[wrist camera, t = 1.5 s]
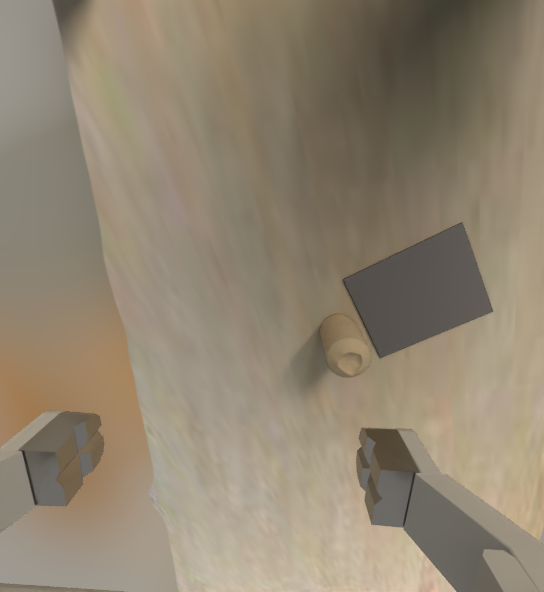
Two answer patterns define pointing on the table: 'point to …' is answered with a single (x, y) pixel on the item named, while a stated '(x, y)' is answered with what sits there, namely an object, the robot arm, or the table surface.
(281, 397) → the table surface
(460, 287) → the mat
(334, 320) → the candle
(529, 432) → the table surface
